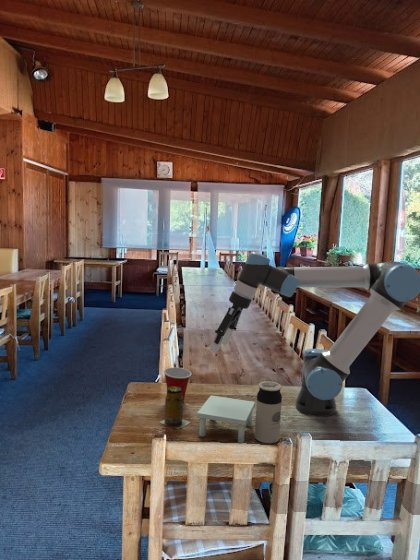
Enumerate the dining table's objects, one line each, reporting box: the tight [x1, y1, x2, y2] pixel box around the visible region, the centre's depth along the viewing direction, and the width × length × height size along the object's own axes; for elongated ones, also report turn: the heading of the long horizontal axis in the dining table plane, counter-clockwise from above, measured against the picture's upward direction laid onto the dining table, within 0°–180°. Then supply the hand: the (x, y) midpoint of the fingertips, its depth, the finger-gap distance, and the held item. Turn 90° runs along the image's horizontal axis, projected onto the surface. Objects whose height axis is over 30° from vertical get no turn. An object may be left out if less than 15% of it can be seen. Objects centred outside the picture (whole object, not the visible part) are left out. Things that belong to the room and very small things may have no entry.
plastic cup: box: [163, 366, 192, 402], centre depth 173 cm, size 11×11×12 cm
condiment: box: [159, 387, 192, 430], centre depth 154 cm, size 7×8×12 cm
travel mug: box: [254, 381, 283, 444], centre depth 145 cm, size 8×8×18 cm
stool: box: [196, 395, 256, 444], centre depth 150 cm, size 16×16×8 cm
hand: (218, 347), depth 161 cm, fingers open, 13 cm apart
